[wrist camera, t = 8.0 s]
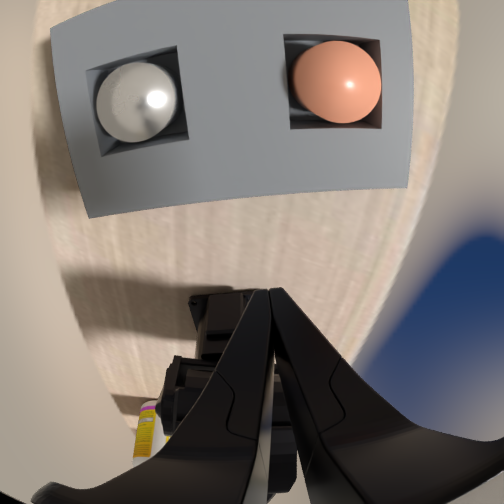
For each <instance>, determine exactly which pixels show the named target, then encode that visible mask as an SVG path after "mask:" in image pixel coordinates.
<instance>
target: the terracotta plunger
mask: <svg viewBox="0 0 504 504" xmlns="http://www.w3.org/2000/svg"><path fill="white" fill-rule="evenodd" d="M288 84H289V88H290V91H291V93H292V95H293V97H294V98H295V100H296V101H297V102H298V103H299V104H300V105H301V106H302V107H303V108H305V109H307V110H308V111H310V112H312V113H314V114H316V115H318V116H320V117H321V118H324V119H326V120H328V121H331V122H336V123H350V122H354V121H357V120H360V119H362V118H363V117H365V116H366V115H368V114H369V113H370V112H371V111H372V110H373V108H374V107H375V105H376V104H377V102H378V100H379V96H380V92H381V78H380V73H379V71H378V68H377V66H376V64H375V62H374V61H373V59H372V58H371V57H370V56H369V55H368V54H367V53H366V52H365V51H364V50H362V49H361V48H359V47H358V46H356V45H354V44H351V43H348V42H344V41H329V42H325V43H322V44H319V45H316V46H313V47H311V48H308V49H306V50H304V51H303V52H301V53H300V54H299V55H297V56H296V58H295V59H294V60H293V62H292V63H291V66H290V68H289V72H288Z"/></svg>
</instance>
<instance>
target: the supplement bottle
mask: <svg viewBox="0 0 504 504" xmlns="http://www.w3.org/2000/svg"><path fill="white" fill-rule="evenodd" d="M156 403H157V400H153V401H148V402H145V403H144V404H143V405H142V406H141V410H140V416H139V421H138V428H137V434H136V441H135V448H134V454H133V466H134V467H136V466H137V465H139V464H141V463H143V462H144V461H146V460H148V459H150V458H151V457H152V456H154V455H155V454H156V453H157V452H158V451H159V450H160V449H161V448H162V447H163V446H164V445H165V444H166V442H167V441H168V440H169V439H170V436H164V433H163V426H162V424H161V419H160V418H159V416H158V415H157V414H156V413H155V405H156Z"/></svg>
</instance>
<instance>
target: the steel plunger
mask: <svg viewBox="0 0 504 504" xmlns="http://www.w3.org/2000/svg"><path fill="white" fill-rule="evenodd" d="M183 105H184V99H183V91H182V84H181V79H180V77H179V76H178V75H177V74H176V73H175V72H174V71H173V70H172V69H170V68H168V67H166V66H163V65H159V64H151V63H140V62H136V63H129V64H126V65H123V66H121V67H119V68H117V69H116V70H114V71H113V72H112V73H111V74H109V76H108V77H107V78H106V79H105V80H104V82H103V83H102V85H101V87H100V90H99V92H98V96H97V114H98V118H99V120H100V122H101V124H102V126H103V127H104V129H105V130H106V131H107V132H108V133H109V134H110V135H112V136H113V137H115V138H117V139H119V140H122V141H125V142H140V141H144V140H147V139H149V138H151V137H153V136H155V135H156V134H157V133H159V132H160V131H161V130H163V129H164V128H165V127H167V126H168V125H170V124H171V123H172V122H173V121H174V120H175V119H176V118H177V117H178V115H179V114H180V112H181V110H182V108H183Z"/></svg>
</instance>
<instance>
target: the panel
mask: <svg viewBox="0 0 504 504" xmlns="http://www.w3.org/2000/svg"><path fill="white" fill-rule="evenodd" d="M50 35H51V47H52V58H53V66H54V74H55V82H56V88H57V95H58V100H59V106H60V111H61V117H62V122H63V126H64V131H65V136H66V140H67V144H68V148H69V153H70V157H71V160H72V164H73V168H74V172H75V175H76V179H77V182H78V186H79V189H80V192H81V196H82V199H83V202H84V205H85V208H86V211H87V214H88V217H89V219H90V218H96V217H102V216H108V215H114V214H120V213H127V212H133V211H140V210H147V209H154V208H161V207H169V206H176V205H184V204H192V203H201V202H209V201H218V200H228V199H237V198H248V197H258V196H269V195H281V194H294V193H308V192H323V191H341V190H361V189H388V188H407V186H408V177H409V168H410V157H411V145H412V130H413V102H414V75H413V49H412V34H411V23H410V14H409V5H408V0H116V1H113V2H111V3H108V4H105V5H102V6H100V7H97V8H94V9H92V10H89V11H87V12H84V13H82V14H80V15H77V16H75V17H73V18H71V19H68V20H66V21H64V22H62V23H60V24H58V25H56V26H54V27H52V28H50ZM329 41H344V42H348V43H351V44H354V45H356V46H358V47H359V48H361V49H362V50H364V51H365V52H366V53H367V54H368V55H369V56H370V57H371V58H372V59H373V61H374V62H375V64H376V66H377V68H378V71H379V73H380V78H381V92H380V96H379V100H378V102H377V104H376V105H375V107H374V108H373V110H372V111H371V112H370V113H369V114H368V115H366V116H365V117H363V118H362V119H360V120H357V121H354V122H350V123H336V122H331V121H328V120H326V119H324V118H321V117H320V116H318V115H316V114H314V113H312V112H310V111H308V110H307V109H305V108H303V107H302V106H301V105H300V104H299V103H298V102H297V101H296V100H295V98H294V97H293V95H292V93H291V91H290V88H289V84H288V72H289V68H290V66H291V63H292V62H293V60H294V59H295V58H296V56H297V55H299V54H300V53H301V52H303V51H304V50H306V49H308V48H311V47H313V46H316V45H319V44H322V43H325V42H329ZM136 62H140V63H151V64H159V65H163V66H166V67H168V68H170V69H172V70H173V71H174V72H175V73H176V74H177V75H178V76H179V77H180V79H181V84H182V91H183V99H184V105H183V108H182V110H181V112H180V114H179V115H178V117H177V118H176V119H175V120H174V121H173V122H172V123H171V124H170V125H168V126H167V127H165V128H164V129H163V130H161V131H160V132H159V133H157V134H156V135H155V136H153V137H151V138H149V139H147V140H144V141H140V142H125V141H122V140H119V139H117V138H115V137H113V136H112V135H110V134H109V133H108V132H107V131H106V130H105V129H104V127H103V126H102V124H101V122H100V120H99V118H98V114H97V96H98V92H99V90H100V87H101V85H102V83H103V82H104V80H105V79H106V78H107V77H108V76H109V74H111V73H112V72H113V71H114V70H116V69H117V68H119V67H121V66H123V65H126V64H129V63H136Z"/></svg>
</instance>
